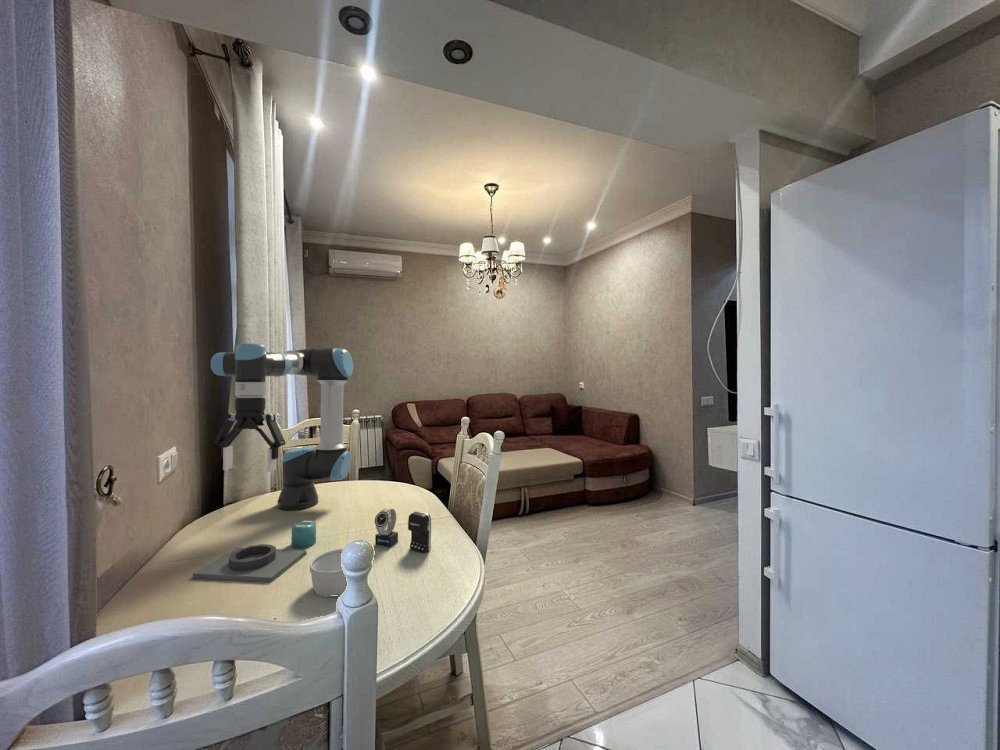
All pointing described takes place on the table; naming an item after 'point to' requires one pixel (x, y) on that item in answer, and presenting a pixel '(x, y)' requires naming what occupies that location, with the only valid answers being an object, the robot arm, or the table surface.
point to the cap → (303, 535)
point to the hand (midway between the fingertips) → (249, 469)
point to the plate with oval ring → (251, 564)
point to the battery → (420, 531)
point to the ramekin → (328, 574)
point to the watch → (381, 522)
